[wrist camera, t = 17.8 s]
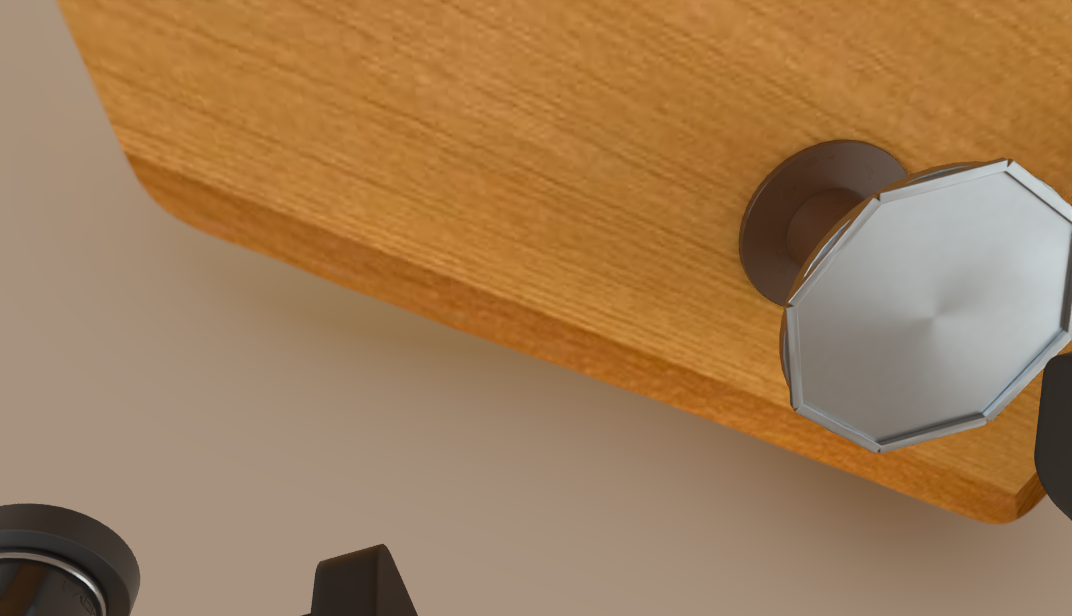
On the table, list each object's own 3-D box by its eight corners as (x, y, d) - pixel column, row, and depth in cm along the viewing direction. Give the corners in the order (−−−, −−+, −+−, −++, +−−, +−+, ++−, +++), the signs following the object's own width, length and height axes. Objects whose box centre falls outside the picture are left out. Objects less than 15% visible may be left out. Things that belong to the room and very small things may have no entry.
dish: (716, 362, 48) (795, 480, 39) (689, 139, 41) (776, 217, 32) (939, 301, 49) (1070, 404, 39) (949, 71, 42) (1110, 128, 32)
